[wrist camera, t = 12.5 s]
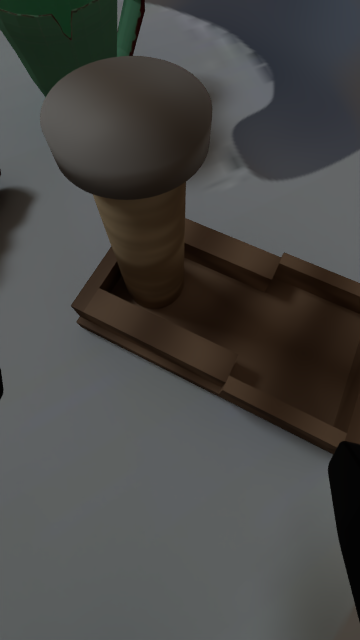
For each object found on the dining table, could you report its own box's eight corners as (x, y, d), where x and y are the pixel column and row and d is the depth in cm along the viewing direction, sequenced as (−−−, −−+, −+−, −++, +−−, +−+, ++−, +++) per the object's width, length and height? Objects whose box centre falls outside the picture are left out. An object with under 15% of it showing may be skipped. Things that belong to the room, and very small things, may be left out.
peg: (161, 335, 22) (137, 202, 9) (98, 289, 23) (3, 120, 11) (211, 275, 23) (245, 96, 11) (149, 235, 25) (118, 37, 12)
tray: (375, 316, 23) (402, 300, 20) (334, 454, 20) (359, 458, 17) (149, 221, 26) (145, 196, 24) (80, 326, 23) (66, 311, 20)
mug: (91, 162, 29) (47, 33, 19) (19, 120, 31) (-51, -15, 22) (180, 81, 33) (180, -59, 24) (112, 48, 35) (87, -92, 26)
